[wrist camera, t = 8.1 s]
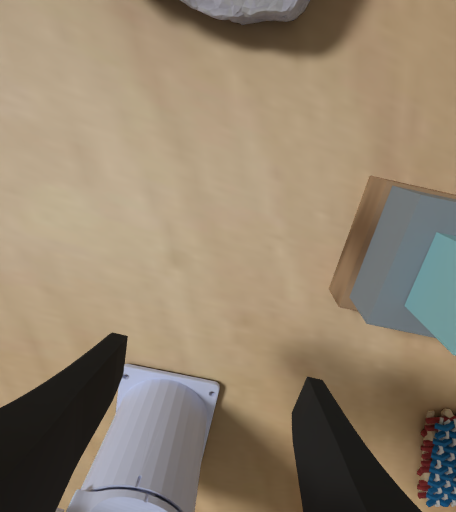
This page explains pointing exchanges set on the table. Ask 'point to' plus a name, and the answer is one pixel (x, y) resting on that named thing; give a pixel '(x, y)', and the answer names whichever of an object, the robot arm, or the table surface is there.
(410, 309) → the teal cube
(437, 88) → the table surface
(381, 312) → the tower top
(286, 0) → the stone block
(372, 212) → the tower base
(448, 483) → the woven mat
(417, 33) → the table surface
